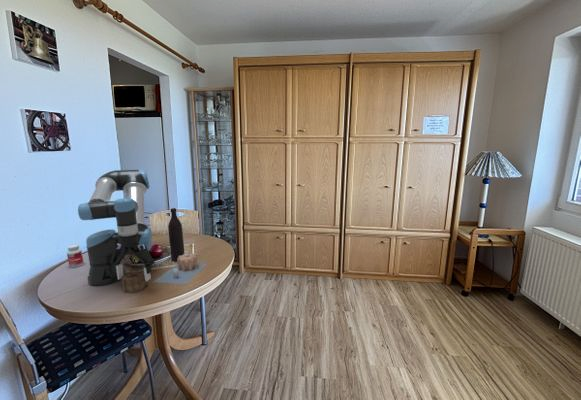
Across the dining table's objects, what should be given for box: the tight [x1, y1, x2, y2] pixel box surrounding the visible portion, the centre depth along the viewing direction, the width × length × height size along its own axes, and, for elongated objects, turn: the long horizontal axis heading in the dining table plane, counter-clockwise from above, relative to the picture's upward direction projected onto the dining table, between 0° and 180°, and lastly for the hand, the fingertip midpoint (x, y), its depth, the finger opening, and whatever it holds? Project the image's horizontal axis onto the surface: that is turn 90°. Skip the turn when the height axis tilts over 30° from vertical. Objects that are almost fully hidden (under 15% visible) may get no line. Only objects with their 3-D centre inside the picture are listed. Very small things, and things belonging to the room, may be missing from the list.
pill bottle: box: [66, 244, 84, 268], centre depth 143 cm, size 6×6×11 cm
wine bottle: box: [167, 207, 185, 263], centre depth 147 cm, size 7×7×30 cm
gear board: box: [153, 262, 207, 285], centre depth 133 cm, size 16×22×5 cm
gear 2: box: [177, 252, 198, 271], centre depth 138 cm, size 10×10×7 cm
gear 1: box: [121, 270, 149, 294], centre depth 120 cm, size 10×10×6 cm
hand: (134, 279), depth 120 cm, fingers open, 13 cm apart
